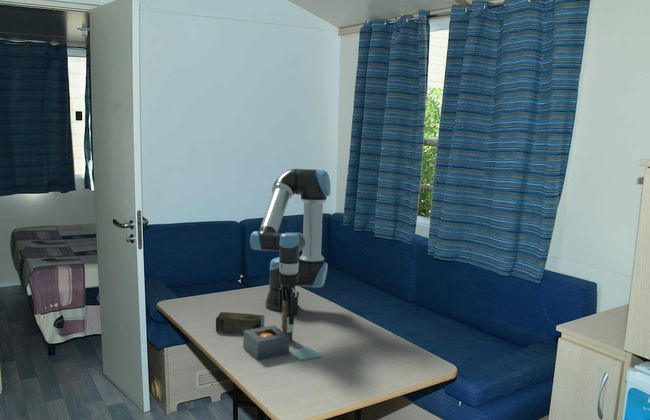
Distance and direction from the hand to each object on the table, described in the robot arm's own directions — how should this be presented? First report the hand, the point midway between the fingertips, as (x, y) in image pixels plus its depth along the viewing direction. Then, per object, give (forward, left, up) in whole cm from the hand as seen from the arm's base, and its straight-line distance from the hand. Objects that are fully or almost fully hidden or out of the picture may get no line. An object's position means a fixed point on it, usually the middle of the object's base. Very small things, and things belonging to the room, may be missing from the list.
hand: (287, 329), depth 237 cm
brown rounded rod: (0, 0, -4) cm, 4 cm away
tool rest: (+1, +16, -4) cm, 17 cm away
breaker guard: (+13, +7, -4) cm, 15 cm away
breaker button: (+13, +7, -3) cm, 15 cm away
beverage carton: (+12, -19, -5) cm, 23 cm away
